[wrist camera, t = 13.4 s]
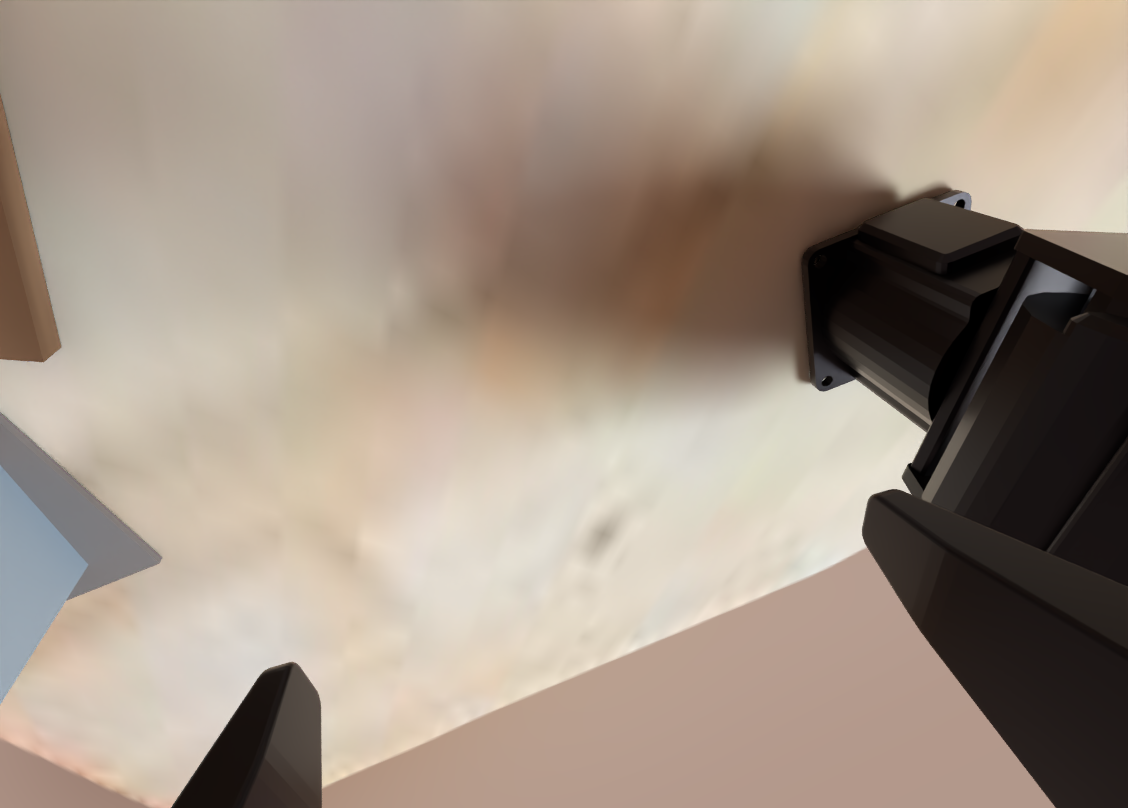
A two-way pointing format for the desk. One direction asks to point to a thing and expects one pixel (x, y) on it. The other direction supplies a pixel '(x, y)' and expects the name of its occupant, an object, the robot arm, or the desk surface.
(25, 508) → the sleeve
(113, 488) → the desk surface
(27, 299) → the stand
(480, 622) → the desk surface
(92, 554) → the mat
